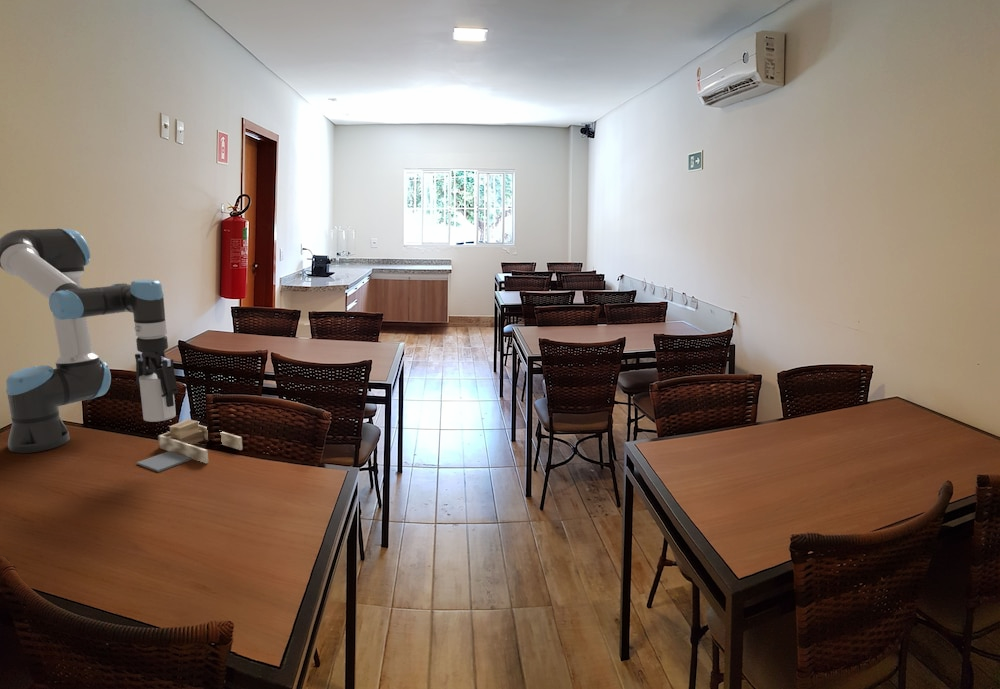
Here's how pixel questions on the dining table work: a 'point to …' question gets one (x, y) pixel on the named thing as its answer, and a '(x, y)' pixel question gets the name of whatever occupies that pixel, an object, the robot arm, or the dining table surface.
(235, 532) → the dining table surface
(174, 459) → the mat
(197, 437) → the offcut low
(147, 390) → the cup
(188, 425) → the offcut top
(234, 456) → the dining table surface
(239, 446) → the rack
